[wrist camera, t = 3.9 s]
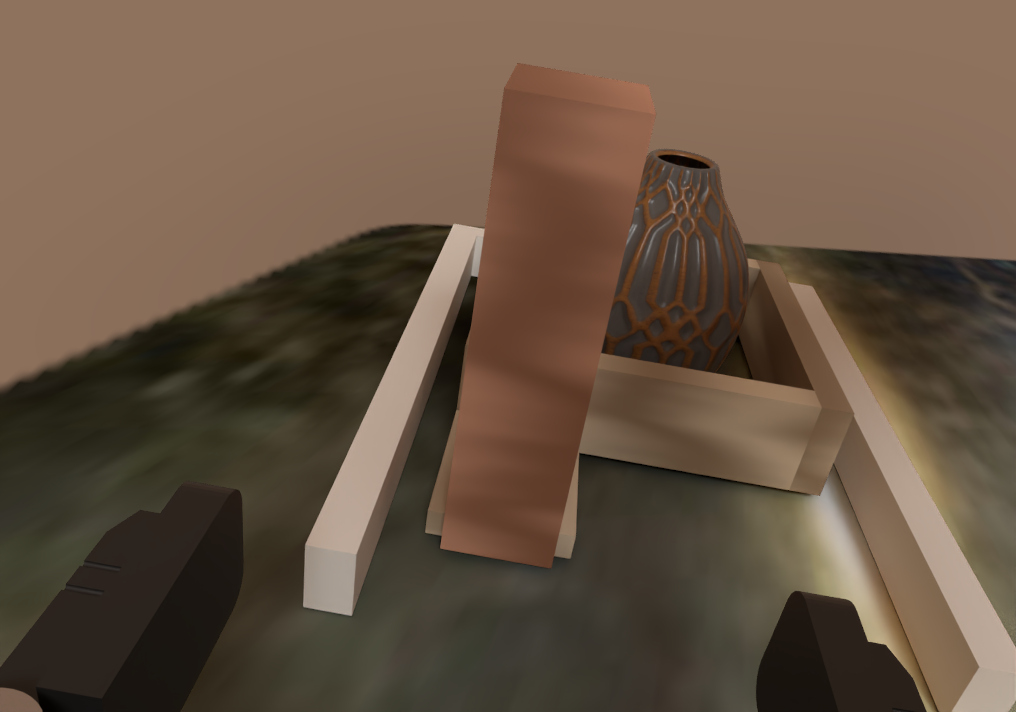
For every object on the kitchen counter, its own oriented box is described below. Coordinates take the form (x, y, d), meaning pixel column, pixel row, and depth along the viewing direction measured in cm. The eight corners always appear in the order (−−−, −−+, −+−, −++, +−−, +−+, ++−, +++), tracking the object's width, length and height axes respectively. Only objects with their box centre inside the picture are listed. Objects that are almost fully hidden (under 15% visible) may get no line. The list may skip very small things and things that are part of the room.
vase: (537, 327, 35) (575, 119, 30) (695, 346, 35) (755, 145, 31) (545, 418, 29) (594, 175, 24) (736, 440, 29) (817, 207, 25)
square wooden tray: (757, 329, 37) (850, 51, 31) (868, 625, 22) (1091, 189, 16) (494, 282, 37) (538, -2, 31) (421, 545, 22) (479, 84, 16)
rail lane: (798, 324, 39) (812, 286, 38) (993, 732, 20) (1031, 676, 19) (449, 263, 39) (453, 223, 38) (303, 607, 20) (304, 544, 19)
